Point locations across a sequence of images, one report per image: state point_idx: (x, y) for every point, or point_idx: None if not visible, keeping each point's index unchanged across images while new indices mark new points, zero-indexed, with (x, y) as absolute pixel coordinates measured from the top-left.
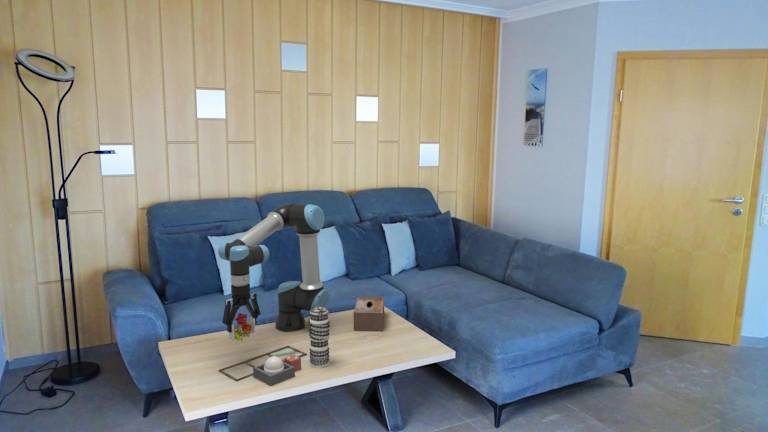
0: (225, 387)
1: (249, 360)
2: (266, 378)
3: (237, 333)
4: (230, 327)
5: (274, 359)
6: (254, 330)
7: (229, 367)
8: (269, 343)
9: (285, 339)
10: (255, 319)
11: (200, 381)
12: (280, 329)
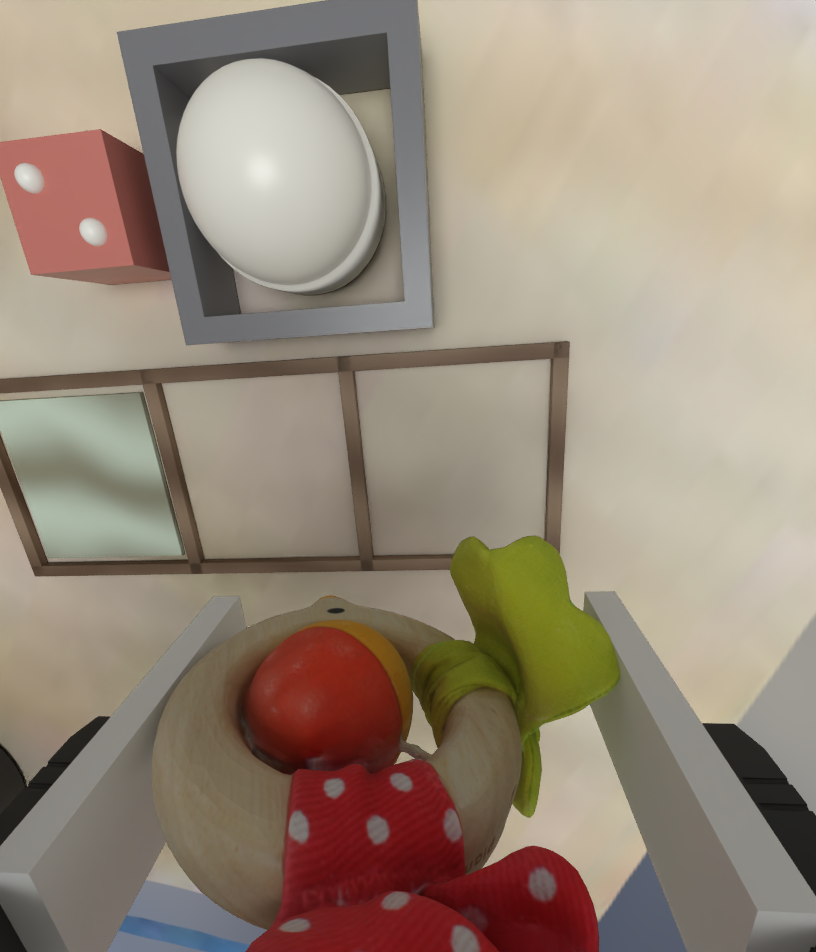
0: (684, 306)
1: (331, 559)
2: (422, 100)
3: (539, 659)
4: (792, 850)
5: (256, 95)
6: (204, 625)
7: None
8: (126, 676)
9: (24, 660)
10: (7, 835)
11: (731, 512)
12: (6, 767)
